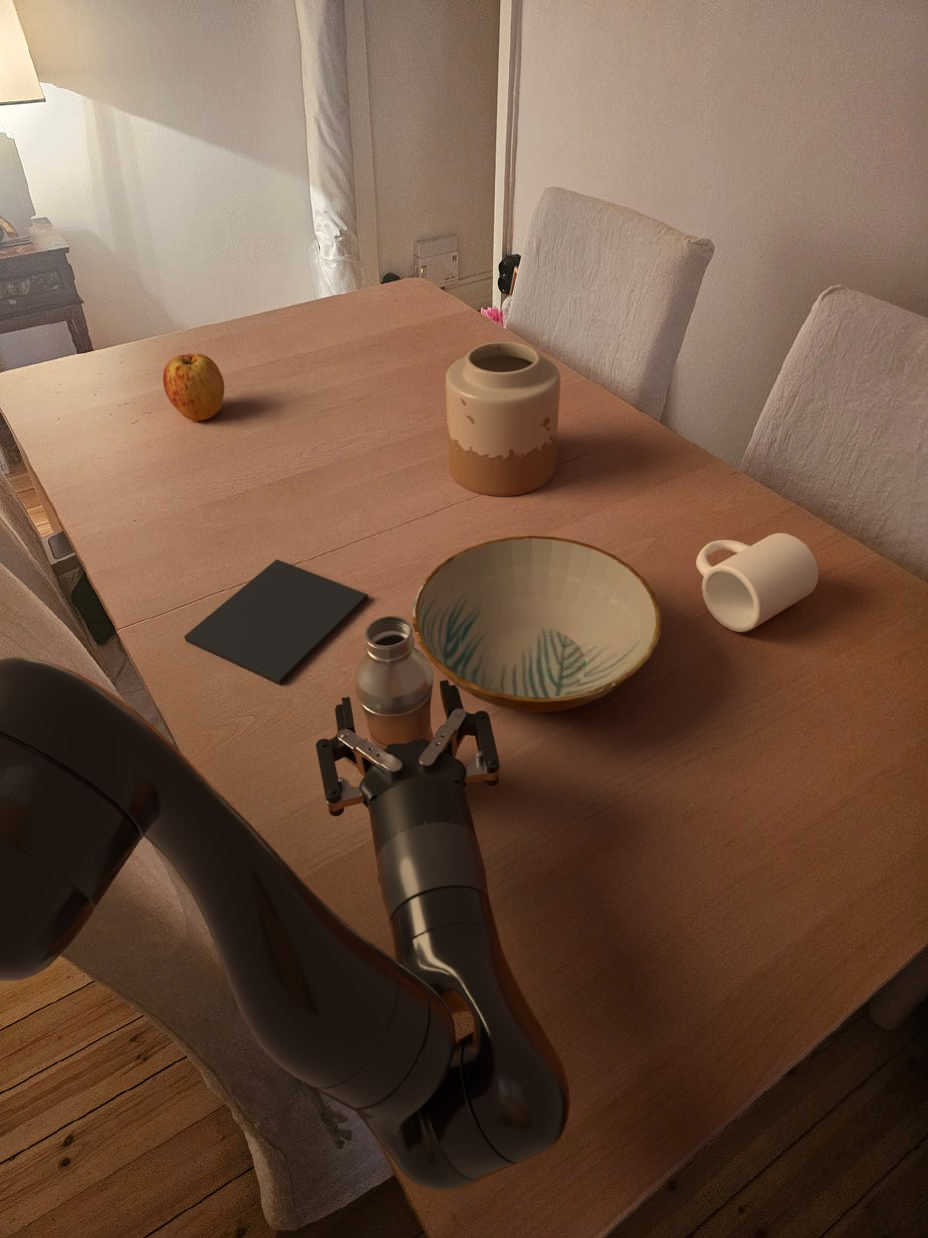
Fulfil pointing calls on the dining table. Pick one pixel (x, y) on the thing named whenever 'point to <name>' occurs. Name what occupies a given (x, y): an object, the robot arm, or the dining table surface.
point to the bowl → (536, 622)
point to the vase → (502, 419)
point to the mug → (756, 579)
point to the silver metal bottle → (394, 684)
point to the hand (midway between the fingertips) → (395, 695)
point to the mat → (277, 620)
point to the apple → (194, 386)
